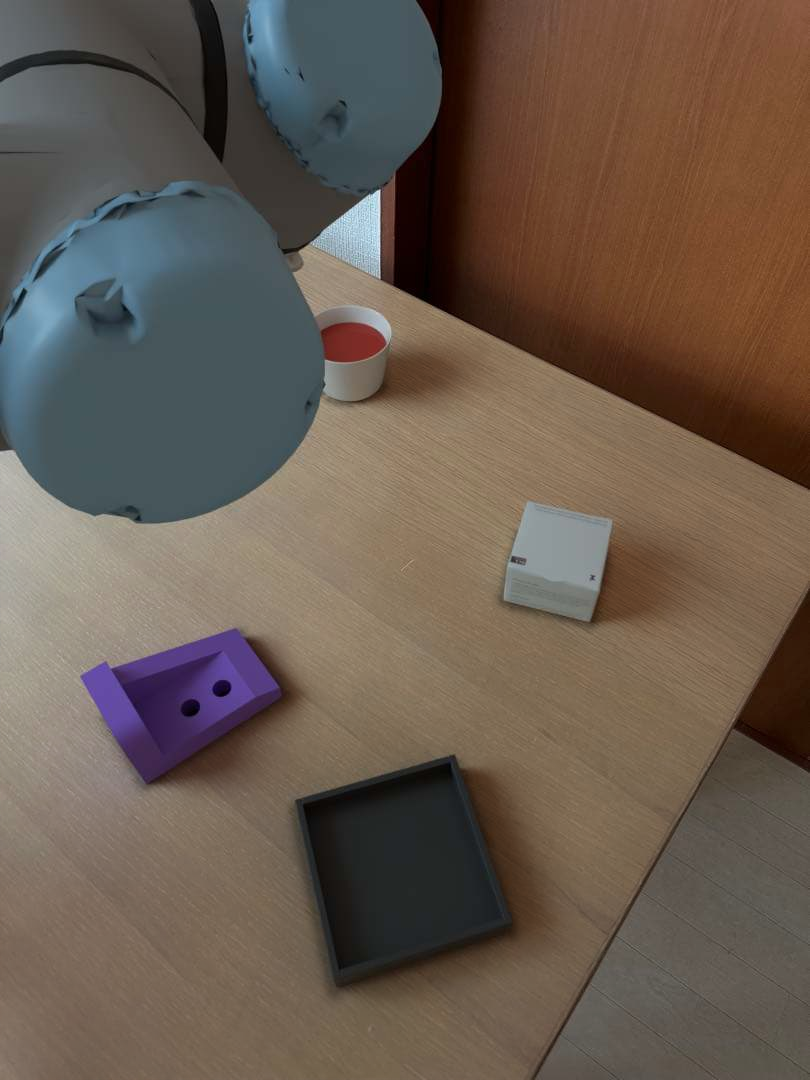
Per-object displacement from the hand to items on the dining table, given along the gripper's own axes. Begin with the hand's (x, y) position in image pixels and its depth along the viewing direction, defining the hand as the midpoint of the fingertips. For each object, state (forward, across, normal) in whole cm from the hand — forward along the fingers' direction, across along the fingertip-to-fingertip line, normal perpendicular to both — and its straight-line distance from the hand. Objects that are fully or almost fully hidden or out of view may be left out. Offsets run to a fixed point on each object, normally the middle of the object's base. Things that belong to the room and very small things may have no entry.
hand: (134, 322), depth 60 cm
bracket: (+5, -12, -27) cm, 30 cm away
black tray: (-10, -10, -41) cm, 44 cm away
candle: (+18, +23, -14) cm, 32 cm away
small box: (-4, +17, -36) cm, 40 cm away
